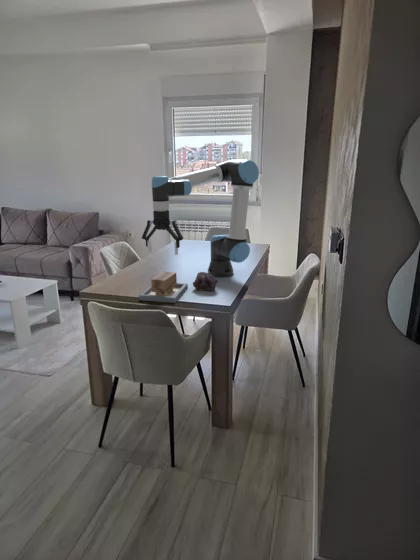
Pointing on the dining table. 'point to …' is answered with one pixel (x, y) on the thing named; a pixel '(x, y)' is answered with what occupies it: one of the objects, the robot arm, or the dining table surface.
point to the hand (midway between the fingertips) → (163, 253)
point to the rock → (205, 282)
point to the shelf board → (163, 282)
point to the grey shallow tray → (164, 294)
